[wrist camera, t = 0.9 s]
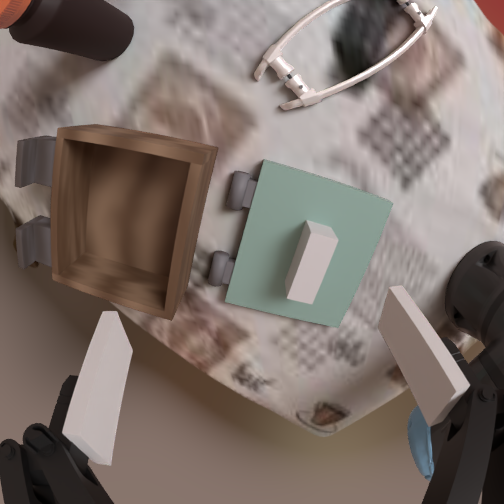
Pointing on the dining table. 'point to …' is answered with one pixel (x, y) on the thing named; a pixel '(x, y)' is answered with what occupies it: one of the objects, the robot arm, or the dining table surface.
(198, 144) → the cabinet
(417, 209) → the dining table surface
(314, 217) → the door
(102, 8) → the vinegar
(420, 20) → the door handle
